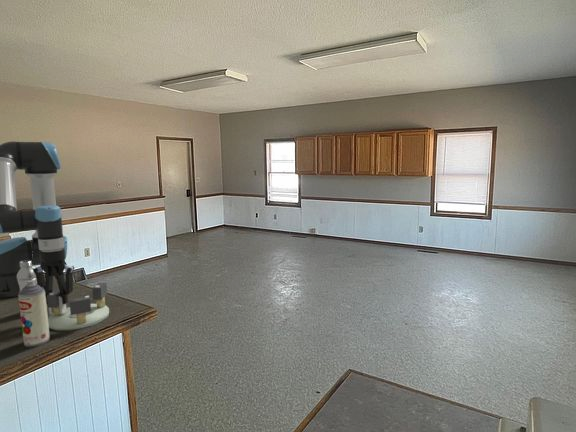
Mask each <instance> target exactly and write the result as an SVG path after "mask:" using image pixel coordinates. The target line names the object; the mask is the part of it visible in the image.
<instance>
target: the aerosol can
mask: <svg viewBox="0 0 576 432" xmlns="http://www.w3.org/2000/svg"><path fill="white" fill-rule="evenodd" d="M17 297H18V304H19V305H18V306H19V312H20V322H21V323H20V324H21V330H22V331H21V333H22V340H23V346H24V347H26V348H34V347H40V346H43V345H44V344H47V343H48V342H49V341H50V340H51V335H50V328H49V324H48V317H49V316H48V305H47V303H46V296H45V290H44V288H43V287H40V286H39V285H38V284H35V283H34V280H30V281H27V285H26V286H25V287H24V288H23V289H22V290H21V291H20V292H19V295H18V296H17Z"/></svg>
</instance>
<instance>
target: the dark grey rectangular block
mask: <svg viewBox="0 0 576 432" xmlns="http://www.w3.org/2000/svg"><path fill="white" fill-rule="evenodd" d="M60 295H61V294H60V291H59V288H58V289H55V290H52V293H50V294H48V295H47V302H48V305H47V309H49V308H51V307H53V311H54V316H60V315H62V314H60V306H59V296H60Z"/></svg>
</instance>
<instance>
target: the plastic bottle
mask: <svg viewBox="0 0 576 432" xmlns="http://www.w3.org/2000/svg"><path fill="white" fill-rule="evenodd" d="M20 267H21V269H20V270H19V272H18V274H17V280H18V284H19V288H20V291H21V290H22V289H23V288H24V287H25V286H26V285H27V281H30V280H34V283H35V284H37V279H36V275H35V273H34V271H33V269H34V268H35V267H33V266H32V261H31V260H24V261H21V262H20ZM37 285H38V284H37Z"/></svg>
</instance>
